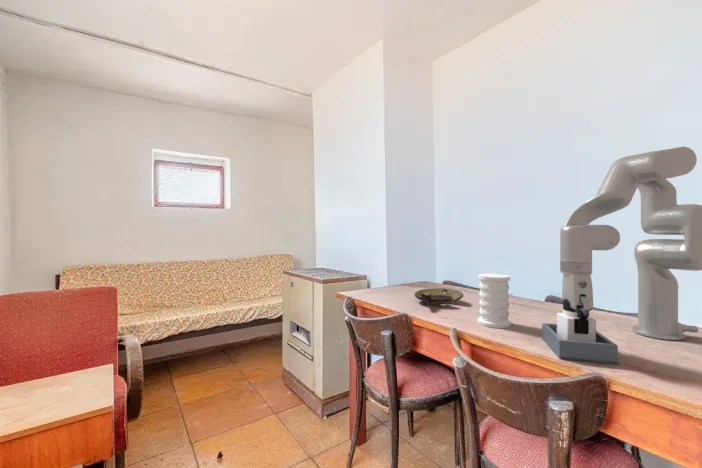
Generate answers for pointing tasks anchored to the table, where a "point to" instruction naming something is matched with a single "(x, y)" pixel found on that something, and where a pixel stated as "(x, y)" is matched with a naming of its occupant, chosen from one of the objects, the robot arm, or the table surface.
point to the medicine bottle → (567, 325)
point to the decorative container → (494, 301)
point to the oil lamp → (438, 296)
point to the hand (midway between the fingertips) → (575, 328)
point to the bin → (580, 347)
